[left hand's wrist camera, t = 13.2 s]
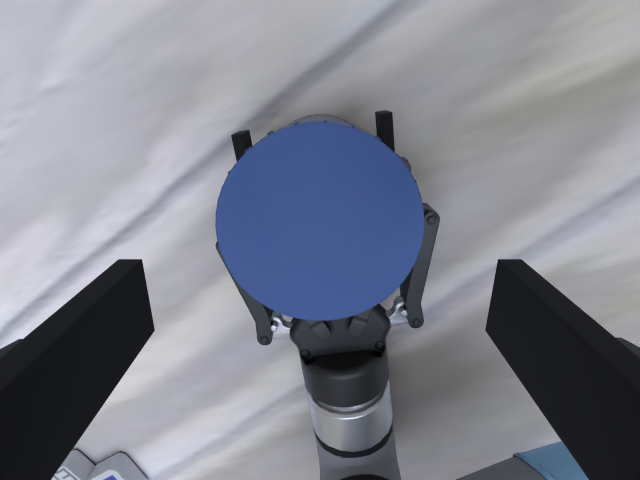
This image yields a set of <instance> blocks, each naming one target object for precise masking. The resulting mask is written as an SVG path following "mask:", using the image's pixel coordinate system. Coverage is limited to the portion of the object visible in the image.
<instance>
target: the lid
mask: <svg viewBox="0 0 640 480" xmlns="http://www.w3.org/2000/svg"><path fill="white" fill-rule="evenodd" d="M381 140H382V139H380V138H379V137H378V136H373V135H371V134H369V133H368V132H366V131H364V130H362V129H359V128H357V127H356V126H355V125H354V124H351V125H349V124H345V123H341V122H335V121H327V120H326V119H324V120H315V121H305V122H298V121H296V122H295V124H292V125H288V126H285V127H283V128H281V129H278V130H276V131H274V132H273V131H270V132H269V133H268V134H267V136H266V137H264V138H263V139H261V140H260V141H259V142H257V143H256V144H255V145H254V146H253V147H251V146H250V147H249V148H248V149H246V150H245V151H244V152H245V154H244V155H243V156H242V157H241V158H240V159H239V160H238V161H237V163H236V164H235V165H234V167H233V168H232V170H230V171H229V172H228V176H227V178H226V180H225V182H224V184H223V187H222V189H221V192H220V196H219V198H218V204H217V210H216V233H217V241H218V244H219V248H220V252H221V254H222V257H223V259H224V262H225V264H226V266H227V267H228V269H229V271H230V273H231V274H232V276H233V277H234V278H235V280H236V281H237V282H238V284H239V285H240V286H241V287H242V288H243V289H244V290H245V291H246V292H247V293H248V294H249V295H250V296H252V297H253V298H254V299H255V300H257V301H258V302H260V303H261V304H263V305H265V306H266V307H268V308H270V309H272V310H274V311H276V312H278V313H281V314H284V315H287V316H290V317H294V318H298V319H303V320H313V321H328V320H336V319H342V318H346V317H350V316H354V315H356V314H359V313H362V312H364V311H366V310H368V309H370V308H372V307H374V306H376V305H377V304H379V303H380V302H382V301H383V300H385V299H386V298H387V297H388V296H390V295H391V294H392V293H393V292H394V291H395V290H396V289H397V288H398V287H399V286H400V285H401V284H402V283H403V281H404V280H405V278H406V277H407V276H408V274H409V273H410V271H411V269H412V267H413V266H414V264H415V262H416V260H417V257H418V254H419V252H420V249H421V245H422V240H423V235H424V209H423V204H422V199H421V195H420V192H419V189H418V187H417V184H416V180H414V178H413V176H412V174H411V172H410V171H409V170H408V168H407V167H406V165H405V164H404V163H403V161H402V158H401V157H400V156H399V155H398V154H395V153H394V152H393V151H392V150H391V149H390V148H389V147H387V146H386V145H385V144H384V143H382V142H381Z"/></svg>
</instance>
